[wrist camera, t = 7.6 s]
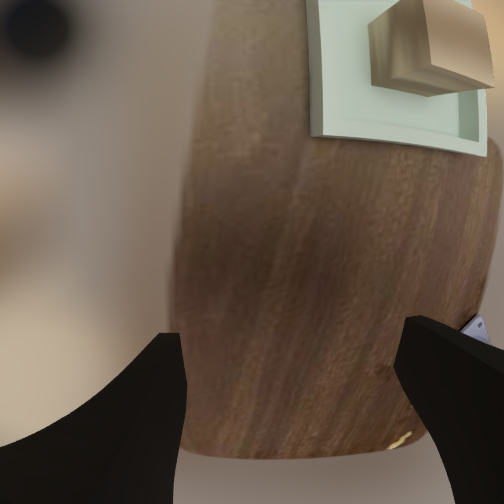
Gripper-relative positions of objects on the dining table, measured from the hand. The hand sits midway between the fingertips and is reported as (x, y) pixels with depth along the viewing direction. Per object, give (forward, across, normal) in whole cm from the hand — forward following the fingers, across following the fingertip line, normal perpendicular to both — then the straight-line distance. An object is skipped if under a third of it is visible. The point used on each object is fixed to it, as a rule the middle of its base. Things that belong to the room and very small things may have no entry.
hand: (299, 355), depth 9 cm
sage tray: (+9, -8, -12) cm, 17 cm away
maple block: (+9, -8, -12) cm, 17 cm away
